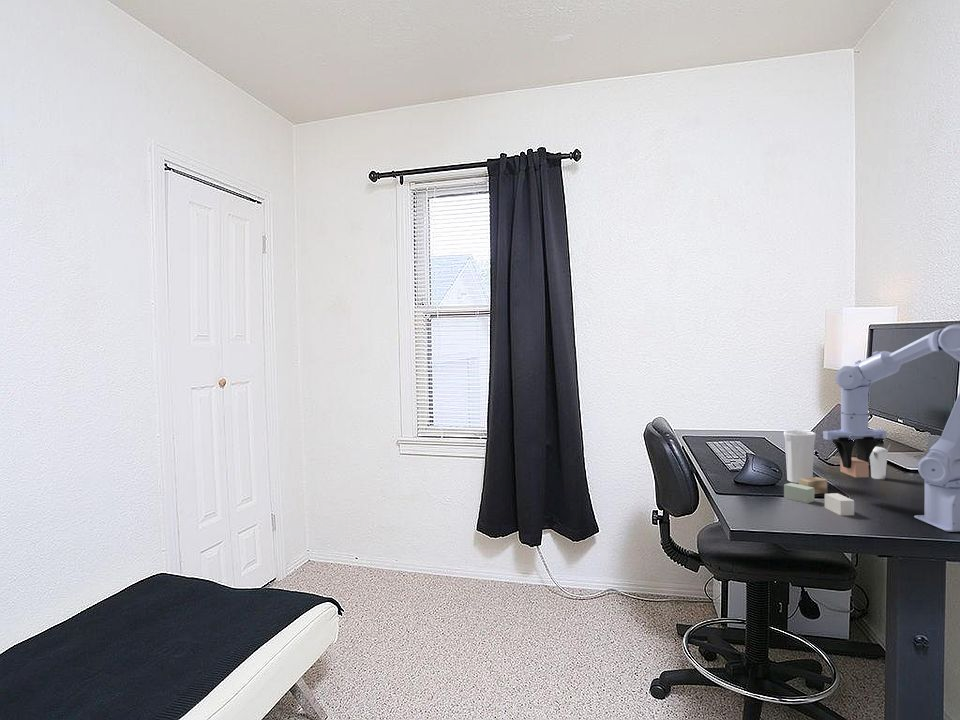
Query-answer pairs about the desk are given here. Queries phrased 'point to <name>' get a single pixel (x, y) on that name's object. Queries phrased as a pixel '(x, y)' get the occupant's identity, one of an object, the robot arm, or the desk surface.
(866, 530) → the desk surface
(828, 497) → the cream brick
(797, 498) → the sage brick
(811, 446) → the cup
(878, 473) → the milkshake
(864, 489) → the desk surface
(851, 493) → the desk surface
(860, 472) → the terracotta brick
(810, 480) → the oak brick
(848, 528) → the desk surface
